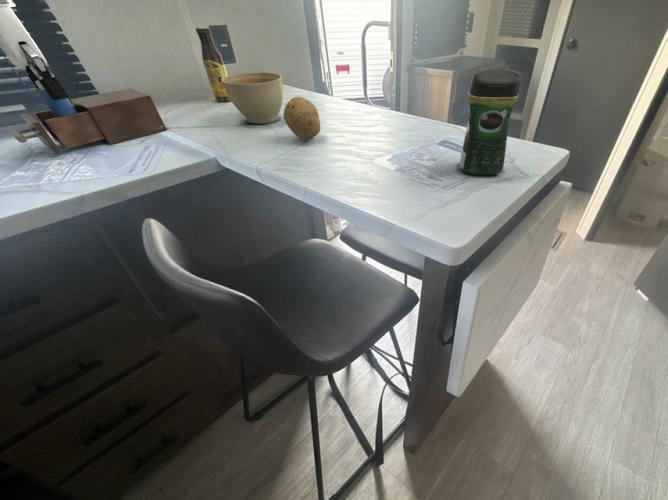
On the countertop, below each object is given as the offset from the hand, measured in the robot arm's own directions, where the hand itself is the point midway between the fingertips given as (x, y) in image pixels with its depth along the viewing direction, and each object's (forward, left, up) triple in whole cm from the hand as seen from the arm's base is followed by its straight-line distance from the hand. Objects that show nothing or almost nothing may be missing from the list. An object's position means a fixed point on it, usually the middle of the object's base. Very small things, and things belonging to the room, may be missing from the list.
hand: (54, 95), depth 76 cm
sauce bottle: (+46, +9, -11) cm, 48 cm away
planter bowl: (+41, -21, -11) cm, 47 cm away
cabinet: (+11, 0, -11) cm, 15 cm away
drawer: (-3, 0, -10) cm, 10 cm away
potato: (+38, -45, -11) cm, 60 cm away
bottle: (0, 0, -9) cm, 9 cm away
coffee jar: (+50, -91, -11) cm, 104 cm away
